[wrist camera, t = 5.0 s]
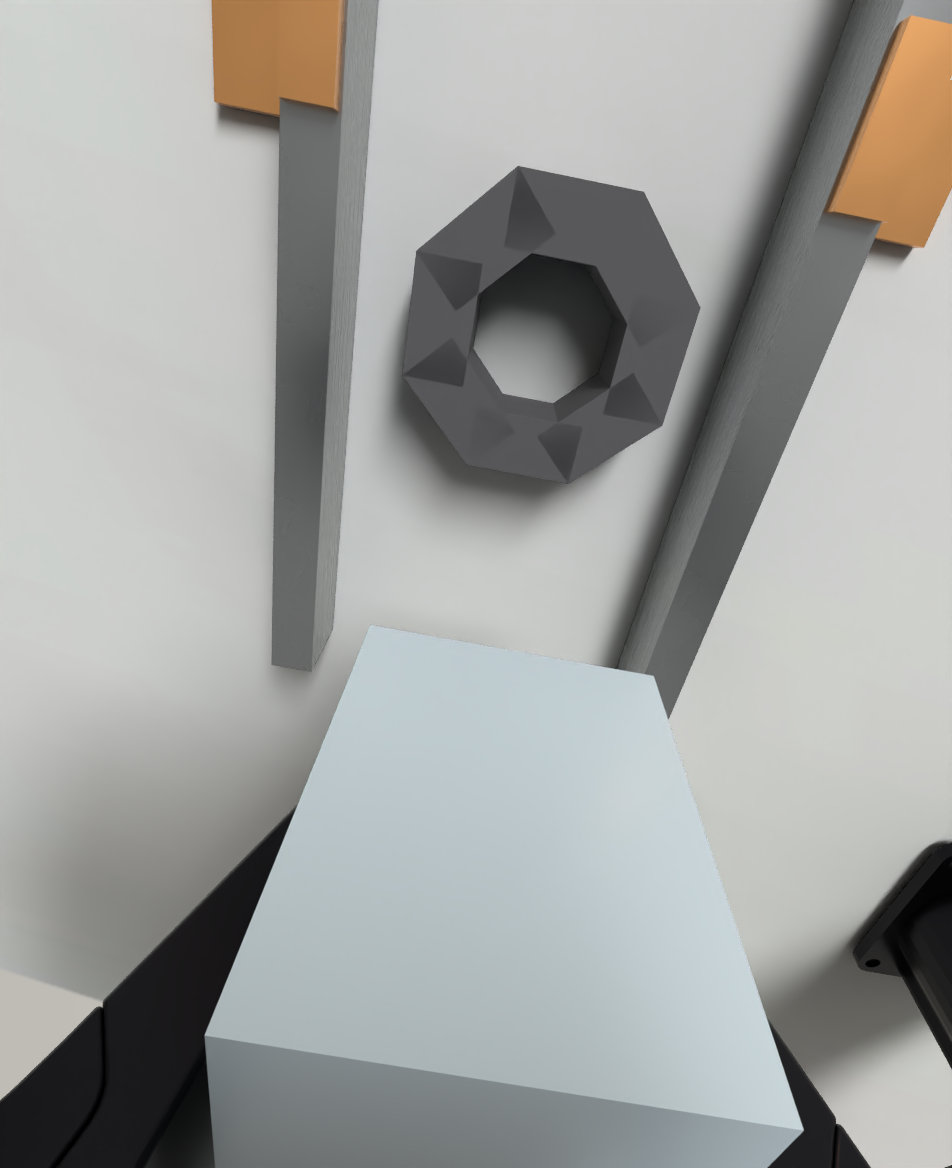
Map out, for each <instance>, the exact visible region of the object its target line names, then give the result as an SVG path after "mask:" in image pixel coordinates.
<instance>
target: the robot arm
mask: <svg viewBox="0 0 952 1168" xmlns="http://www.w3.org/2000/svg"><path fill="white" fill-rule="evenodd" d="M296 808H297V806H296V807H295V808H294V809H293V810H292V811H291V812H290V813H289V814H288V815H287V816H286V817H285V818H284V819H283V820H282V821H281V822H280V823H279V824H278V825H277V826H276V827H275V828H274V829H273V830H272V831H271V832H270V833H269V834H268V835H267V836H266V837H265V838H264V839H263V840H262V841H261V842H260V843H259V844H258V845H257V846H256V847H255V848H254V849H253V850H252V851H251V852H250V853H249V854H248V855H247V856H246V857H245V858H244V859H243V860H242V861H241V862H240V863H239V864H238V865H237V866H236V867H235V868H234V869H233V870H232V871H231V872H230V873H229V874H228V875H227V876H226V877H225V878H224V879H223V880H222V881H221V882H220V883H219V884H218V885H217V886H216V887H215V888H214V889H213V890H212V891H211V892H210V893H209V894H208V895H207V896H206V897H205V898H204V899H203V900H202V901H201V902H200V903H199V904H198V905H197V906H196V907H195V908H194V909H193V910H192V911H191V913H190V914H189V915H188V916H187V917H186V918H185V919H184V920H183V921H182V922H181V923H180V924H179V925H178V926H177V927H176V928H175V929H174V930H173V931H172V932H171V933H170V934H169V935H168V936H167V937H166V938H165V939H164V940H163V941H162V942H161V943H160V944H159V945H158V946H157V947H156V948H155V949H154V950H153V951H152V952H151V953H150V954H149V955H148V956H147V957H146V958H145V959H144V960H143V961H142V962H141V963H140V964H139V965H138V966H137V967H136V968H135V969H134V970H133V971H132V972H131V973H130V974H129V975H128V976H127V977H126V978H125V979H124V980H123V981H122V982H121V983H120V984H119V985H118V986H117V987H116V988H115V989H114V990H113V991H112V992H111V993H110V994H109V995H108V996H107V997H106V998H105V999H104V1001H103V1008H102V1007H96V1008H95V1009H94V1010H93V1011H92V1012H91V1013H90V1014H89V1015H88V1016H87V1017H86V1018H85V1019H84V1020H83V1021H82V1022H81V1023H80V1024H79V1025H78V1026H77V1027H76V1028H75V1029H74V1030H73V1031H72V1032H71V1033H70V1034H69V1035H68V1036H67V1037H66V1038H65V1039H64V1040H63V1041H62V1042H61V1043H60V1044H59V1045H58V1046H57V1047H56V1048H55V1049H54V1050H53V1051H52V1052H51V1053H50V1054H49V1055H48V1056H47V1057H46V1058H45V1059H44V1060H43V1061H42V1062H41V1063H40V1064H38V1066H36V1067H35V1068H34V1069H33V1070H32V1071H31V1072H30V1073H29V1074H28V1075H27V1076H26V1077H25V1078H24V1079H23V1080H22V1081H21V1082H20V1083H19V1084H18V1085H17V1086H16V1087H15V1088H14V1089H12V1090H11V1091H10V1092H9V1093H8V1094H7V1095H6V1096H5V1097H4V1098H2V1099H1V1100H0V1168H215V1159H214V1147H213V1134H212V1122H211V1109H210V1097H209V1085H208V1072H207V1060H206V1047H205V1033H206V1031H207V1028H208V1026H209V1023H210V1021H211V1018H212V1016H213V1013H214V1011H215V1008H216V1006H217V1003H218V1001H219V999H220V996H221V994H222V991H223V989H224V986H225V984H226V981H227V979H228V976H229V974H230V971H231V969H232V966H233V964H234V961H235V959H236V956H237V954H238V952H239V949H240V947H241V944H242V942H243V939H244V937H245V934H246V932H247V929H248V927H249V924H250V922H251V919H252V917H253V914H254V912H255V909H256V907H257V904H258V902H259V900H260V897H261V895H262V892H263V890H264V887H265V885H266V882H267V880H268V877H269V875H270V872H271V870H272V867H273V865H274V862H275V860H276V857H277V855H278V853H279V850H280V848H281V845H282V843H283V840H284V838H285V835H286V833H287V830H288V828H289V825H290V823H291V820H292V818H293V815H294V813H295V810H296ZM853 957H854V959H855V961H856V963H857V965H858V967H859V968H860V969H861V970H864V971H869V972H875V973H881V974H887V975H893V976H899V977H902V978H903V980H904V982H905V983H906V985H907V987H908V989H909V991H910V993H911V995H912V996H913V998H914V1000H915V1002H916V1004H917V1006H918V1008H919V1009H920V1011H921V1013H922V1015H923V1017H924V1019H925V1020H926V1022H927V1024H928V1026H929V1028H930V1030H931V1032H932V1033H933V1035H934V1037H935V1039H936V1041H937V1043H938V1045H939V1046H940V1048H941V1050H942V1052H943V1054H944V1056H945V1057H946V1059H947V1061H948V1063H949V1065H950V1067H951V1069H952V843H950V844H945V845H943V846H941V847H939V848H938V849H937V850H935V851H934V853H933V854H932V855H931V856H930V857H929V859H928V860H927V861H926V862H925V864H924V865H923V866H922V867H921V868H920V870H919V871H918V872H917V873H916V875H915V876H914V877H913V878H912V879H911V881H910V882H909V883H908V884H907V886H906V887H905V888H904V889H903V890H902V892H901V893H900V894H899V895H898V897H897V898H896V899H895V900H894V901H893V903H892V904H891V905H890V906H889V908H888V909H887V910H886V911H885V912H884V914H883V915H882V916H881V917H880V919H879V920H878V921H877V922H876V923H875V925H874V926H873V927H872V928H871V930H870V931H869V932H868V933H867V934H866V936H865V937H864V938H863V939H862V941H861V942H860V943H859V944H858V945H857V947H856V948H855V949H854V951H853ZM767 1020H768V1018H767ZM768 1024H769V1027H770V1030H771V1033H772V1036H773V1039H774V1042H775V1045H776V1048H777V1051H778V1054H779V1057H780V1060H781V1063H782V1066H783V1069H784V1072H785V1075H786V1078H787V1081H788V1084H789V1087H790V1090H791V1093H792V1096H793V1099H794V1102H795V1105H796V1108H797V1111H798V1114H799V1117H800V1120H801V1123H802V1126H803V1129H804V1131H803V1132H802V1133H801V1134H800V1135H799V1136H798V1137H797V1138H796V1139H795V1140H794V1141H793V1142H792V1143H791V1144H790V1145H789V1146H788V1147H787V1148H786V1149H785V1150H784V1151H783V1152H782V1153H781V1154H780V1155H779V1156H778V1157H777V1158H776V1159H775V1160H774V1161H773V1162H772V1163H771V1164H770V1165H769V1166H768V1167H767V1168H871V1167H870V1166H869V1165H868V1163H867V1162H866V1160H865V1159H864V1157H863V1156H862V1154H861V1153H860V1151H859V1150H858V1149H857V1147H856V1146H855V1144H854V1143H853V1141H852V1140H851V1138H850V1137H849V1136H848V1134H847V1133H846V1131H845V1130H844V1128H843V1127H842V1126H841V1125H839V1124H836V1118H835V1116H834V1114H833V1113H832V1111H831V1110H830V1108H829V1107H828V1105H827V1104H826V1103H825V1101H824V1100H823V1098H822V1097H821V1095H820V1094H819V1092H818V1091H817V1090H816V1088H815V1087H814V1085H813V1084H812V1082H811V1081H810V1079H809V1078H808V1076H807V1075H806V1074H805V1072H804V1071H803V1069H802V1068H801V1066H800V1065H799V1063H798V1062H797V1061H796V1059H795V1058H794V1056H793V1055H792V1053H791V1052H790V1050H789V1049H788V1047H787V1046H786V1045H785V1043H784V1042H783V1040H782V1039H781V1037H780V1036H779V1034H778V1033H777V1032H776V1030H775V1029H774V1027H773V1026H772V1024H771V1023H770V1021H769V1020H768ZM945 1168H952V1165H951V1166H948V1167H945Z"/></svg>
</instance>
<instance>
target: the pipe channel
mask: <svg viewBox="0 0 952 1168" xmlns="http://www.w3.org/2000/svg"><path fill="white" fill-rule="evenodd" d="M377 13H378V0H212V28H213V66H214V102H216V103H218V104H220V105H223V106H227V107H232V108H237V109H242V110H247V111H252V112H257V113H261V114H266V115H271V116H276V117H280V137H279V204H278V272H277V339H276V406H275V474H274V541H273V608H272V665H276V666H282V667H288V668H293V669H299V670H305V671H310V672H312V670H313V668H314V666H315V664H316V662H317V660H318V658H319V656H320V654H321V652H322V649H323V647H324V645H325V643H326V641H327V639H328V637H329V635H330V633H331V631H332V629H333V619H334V606H335V592H336V578H337V564H338V550H339V537H340V523H341V509H342V495H343V481H344V468H345V454H346V440H347V426H348V413H349V399H350V385H351V371H352V357H353V344H354V330H355V316H356V302H357V289H358V275H359V261H360V247H361V233H362V220H363V206H364V192H365V178H366V164H367V151H368V137H369V123H370V109H371V96H372V82H373V68H374V54H375V40H376V27H377ZM951 76H952V0H854V3H853V5H852V8H851V11H850V14H849V17H848V19H847V22H846V25H845V28H844V31H843V34H842V36H841V39H840V42H839V45H838V48H837V50H836V53H835V56H834V59H833V62H832V64H831V67H830V70H829V73H828V76H827V78H826V81H825V84H824V87H823V90H822V93H821V95H820V98H819V101H818V104H817V107H816V109H815V112H814V115H813V118H812V121H811V123H810V126H809V129H808V132H807V135H806V137H805V140H804V143H803V146H802V149H801V152H800V154H799V157H798V160H797V163H796V166H795V168H794V171H793V174H792V177H791V180H790V182H789V185H788V188H787V191H786V194H785V196H784V199H783V202H782V205H781V208H780V211H779V213H778V216H777V219H776V222H775V225H774V227H773V230H772V233H771V236H770V239H769V241H768V244H767V247H766V250H765V253H764V255H763V258H762V261H761V264H760V267H759V270H758V272H757V275H756V278H755V281H754V284H753V286H752V289H751V292H750V295H749V298H748V300H747V303H746V306H745V309H744V312H743V314H742V317H741V320H740V323H739V326H738V328H737V331H736V334H735V337H734V340H733V343H732V345H731V348H730V351H729V354H728V357H727V359H726V362H725V365H724V368H723V371H722V373H721V376H720V379H719V382H718V385H717V387H716V390H715V393H714V396H713V399H712V402H711V404H710V407H709V410H708V413H707V416H706V418H705V421H704V424H703V427H702V430H701V432H700V435H699V438H698V441H697V444H696V446H695V449H694V452H693V455H692V458H691V461H690V463H689V466H688V469H687V472H686V475H685V477H684V480H683V483H682V486H681V489H680V491H679V494H678V497H677V500H676V503H675V505H674V508H673V511H672V514H671V517H670V520H669V522H668V525H667V528H666V531H665V534H664V536H663V539H662V542H661V545H660V548H659V550H658V553H657V556H656V559H655V562H654V564H653V567H652V570H651V573H650V576H649V578H648V581H647V584H646V587H645V590H644V593H643V595H642V598H641V601H640V604H639V607H638V609H637V612H636V615H635V618H634V621H633V623H632V626H631V629H630V632H629V635H628V637H627V640H626V643H625V646H624V649H623V652H622V654H621V657H620V660H619V663H618V666H617V668H616V669H618V670H624V671H629V672H635V673H640V674H646V675H651V676H654V678H655V681H656V685H657V688H658V691H659V694H660V697H661V700H662V703H663V706H664V709H665V712H666V715H667V718H668V719H669V717H670V715H671V712H672V710H673V708H674V705H675V703H676V701H677V698H678V696H679V694H680V691H681V689H682V687H683V684H684V682H685V680H686V677H687V675H688V673H689V670H690V668H691V666H692V663H693V661H694V659H695V656H696V654H697V652H698V649H699V647H700V645H701V642H702V640H703V638H704V635H705V633H706V631H707V628H708V626H709V624H710V621H711V619H712V617H713V614H714V612H715V610H716V607H717V605H718V603H719V600H720V598H721V596H722V594H723V591H724V589H725V587H726V584H727V582H728V580H729V577H730V575H731V573H732V570H733V568H734V566H735V563H736V561H737V559H738V556H739V554H740V552H741V549H742V547H743V545H744V542H745V540H746V538H747V535H748V533H749V531H750V528H751V526H752V524H753V521H754V519H755V517H756V514H757V512H758V510H759V507H760V505H761V503H762V500H763V498H764V496H765V493H766V491H767V489H768V486H769V484H770V482H771V479H772V477H773V475H774V472H775V470H776V468H777V465H778V463H779V461H780V458H781V456H782V454H783V451H784V449H785V447H786V444H787V442H788V440H789V437H790V435H791V433H792V430H793V428H794V426H795V423H796V421H797V419H798V416H799V414H800V412H801V409H802V407H803V405H804V402H805V400H806V398H807V395H808V393H809V391H810V388H811V386H812V384H813V381H814V379H815V377H816V374H817V372H818V370H819V367H820V365H821V363H822V360H823V358H824V356H825V353H826V351H827V349H828V346H829V344H830V342H831V339H832V337H833V335H834V332H835V330H836V328H837V325H838V323H839V321H840V318H841V316H842V314H843V311H844V309H845V307H846V304H847V302H848V300H849V298H850V295H851V293H852V291H853V288H854V286H855V284H856V281H857V279H858V277H859V274H860V272H861V270H862V267H863V265H864V263H865V260H866V258H867V256H868V253H869V251H870V249H871V246H872V244H873V242H874V240H879V241H884V242H889V243H894V244H899V245H904V246H909V247H913V248H924V246H925V244H926V242H927V240H928V238H929V236H930V234H931V231H932V229H933V227H934V225H935V223H936V221H937V218H938V216H939V214H940V212H941V210H942V208H943V206H944V203H945V201H946V199H947V197H948V195H949V193H950V191H951V188H952V80H950V78H951Z"/></svg>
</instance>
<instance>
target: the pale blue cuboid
mask: <svg viewBox="0 0 952 1168" xmlns="http://www.w3.org/2000/svg"><path fill="white" fill-rule="evenodd" d="M205 1047H206V1060H207V1072H208V1085H209V1097H210V1109H211V1122H212V1134H213V1147H214V1159H215V1168H767V1167H768V1166H769V1165H770V1164H771V1163H772V1162H773V1161H774V1160H775V1159H776V1158H777V1157H778V1156H779V1155H780V1154H781V1153H782V1152H783V1151H784V1150H785V1149H786V1148H787V1147H788V1146H789V1145H790V1144H791V1143H792V1142H793V1141H794V1140H795V1139H796V1138H797V1137H798V1136H799V1135H800V1134H801V1133H802V1132H803V1131H804V1129H803V1126H802V1123H801V1120H800V1117H799V1114H798V1111H797V1108H796V1105H795V1102H794V1099H793V1096H792V1093H791V1090H790V1087H789V1084H788V1081H787V1078H786V1075H785V1072H784V1069H783V1066H782V1063H781V1060H780V1057H779V1054H778V1051H777V1048H776V1045H775V1042H774V1039H773V1036H772V1033H771V1030H770V1027H769V1024H768V1020H767V1017H766V1014H765V1011H764V1008H763V1005H762V1002H761V999H760V996H759V993H758V990H757V987H756V984H755V981H754V978H753V975H752V972H751V969H750V966H749V963H748V960H747V957H746V954H745V951H744V948H743V945H742V942H741V939H740V936H739V933H738V930H737V927H736V924H735V921H734V918H733V915H732V912H731V908H730V905H729V902H728V899H727V896H726V893H725V890H724V887H723V884H722V881H721V878H720V875H719V872H718V869H717V866H716V863H715V860H714V857H713V854H712V851H711V848H710V845H709V842H708V839H707V836H706V833H705V830H704V827H703V824H702V821H701V818H700V815H699V812H698V809H697V806H696V803H695V800H694V797H693V793H692V790H691V787H690V784H689V781H688V778H687V775H686V772H685V769H684V766H683V763H682V760H681V757H680V754H679V751H678V748H677V745H676V742H675V739H674V736H673V733H672V730H671V727H670V724H669V721H668V718H667V715H666V712H665V709H664V706H663V703H662V700H661V697H660V694H659V691H658V688H657V685H656V681H655V678H654V676H651V675H646V674H640V673H635V672H629V671H624V670H618V669H612V668H607V667H601V666H596V665H590V664H585V663H579V662H574V661H568V660H563V659H557V658H551V657H546V656H540V655H535V654H529V653H524V652H518V651H513V650H507V649H501V648H496V647H490V646H485V645H479V644H474V643H468V642H463V641H457V640H452V639H446V638H440V637H435V636H429V635H424V634H418V633H413V632H407V631H402V630H396V629H390V628H385V627H379V626H374V625H370V627H369V630H368V632H367V635H366V637H365V640H364V642H363V645H362V647H361V650H360V652H359V655H358V657H357V659H356V662H355V664H354V667H353V669H352V672H351V674H350V677H349V679H348V682H347V684H346V687H345V689H344V692H343V694H342V697H341V699H340V702H339V704H338V706H337V709H336V711H335V714H334V716H333V719H332V721H331V724H330V726H329V729H328V731H327V734H326V736H325V739H324V741H323V744H322V746H321V749H320V751H319V754H318V756H317V758H316V761H315V763H314V766H313V768H312V771H311V773H310V776H309V778H308V781H307V783H306V786H305V788H304V791H303V793H302V796H301V798H300V801H299V803H298V805H297V808H296V810H295V813H294V815H293V818H292V820H291V823H290V825H289V828H288V830H287V833H286V835H285V838H284V840H283V843H282V845H281V848H280V850H279V853H278V855H277V857H276V860H275V862H274V865H273V867H272V870H271V872H270V875H269V877H268V880H267V882H266V885H265V887H264V890H263V892H262V895H261V897H260V900H259V902H258V904H257V907H256V909H255V912H254V914H253V917H252V919H251V922H250V924H249V927H248V929H247V932H246V934H245V937H244V939H243V942H242V944H241V947H240V949H239V952H238V954H237V956H236V959H235V961H234V964H233V966H232V969H231V971H230V974H229V976H228V979H227V981H226V984H225V986H224V989H223V991H222V994H221V996H220V999H219V1001H218V1003H217V1006H216V1008H215V1011H214V1013H213V1016H212V1018H211V1021H210V1023H209V1026H208V1028H207V1031H206V1033H205Z"/></svg>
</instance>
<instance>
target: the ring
mask: <svg viewBox="0 0 952 1168" xmlns="http://www.w3.org/2000/svg"><path fill="white" fill-rule="evenodd" d="M530 254H532V255H537V256H542V257H547V258H552V259H557V260H562V261H567V262H572V263H577V264H582V265H586V267H587V269H588V271H589V273H590V274H591V276H592V278H593V280H594V282H595V284H596V285H597V287H598V289H599V291H600V293H601V295H602V296H603V298H604V300H605V302H606V304H607V305H608V307H609V309H610V311H611V313H612V315H613V320H612V324H611V327H610V331H609V335H608V339H607V343H606V347H605V350H604V354H603V358H602V362H601V366H600V369H599V373H598V374H596V375H595V376H593V377H592V378H590V379H589V380H588V381H586V382H585V383H583V384H582V385H580V386H579V387H577V388H576V389H574V390H573V391H571V392H570V393H568V394H567V395H565V396H564V397H562V398H561V399H559V400H558V401H556V402H555V403H547V402H542V401H537V400H532V399H527V398H522V397H516V396H511V395H506V394H502V392H501V391H500V389H499V387H498V386H497V384H496V383H495V381H494V380H493V378H492V377H491V375H490V374H489V372H488V371H487V369H486V368H485V366H484V365H483V363H482V362H481V360H480V358H479V357H478V355H477V354H476V352H475V351H474V349H473V346H474V339H475V333H476V327H477V321H478V315H479V309H480V302H481V296H482V291H483V290H484V289H486V288H487V287H488V286H490V285H491V284H492V283H493V282H495V281H496V280H497V279H499V278H500V277H501V276H502V275H504V274H505V273H506V272H508V271H509V270H510V269H511V268H513V267H514V266H515V265H517V264H518V263H519V262H521V261H522V260H523V259H524V258H526V257H527V256H528V255H530ZM699 310H700V306H699V304H698V302H697V300H696V298H695V296H694V294H693V292H692V290H691V287H690V285H689V283H688V281H687V279H686V277H685V275H684V273H683V271H682V269H681V267H680V265H679V263H678V261H677V259H676V257H675V255H674V253H673V251H672V249H671V246H670V244H669V242H668V240H667V238H666V236H665V234H664V232H663V230H662V228H661V226H660V224H659V222H658V220H657V218H656V216H655V214H654V212H653V210H652V207H651V205H650V203H649V201H648V199H647V197H646V195H645V193H644V192H642V191H637V190H632V189H627V188H622V187H618V186H613V185H608V184H603V183H598V182H593V181H588V180H583V179H579V178H574V177H569V176H564V175H559V174H554V173H549V172H545V171H540V170H535V169H530V168H525V167H520V166H517V167H516V168H515V169H514V170H513V171H511V172H510V173H509V174H508V175H507V176H506V177H504V178H503V179H502V180H501V181H500V182H498V183H497V184H496V185H495V186H494V187H492V188H491V189H490V190H489V191H488V192H486V193H485V194H484V195H483V196H482V197H480V198H479V199H478V200H477V201H476V202H474V203H473V204H472V205H471V206H470V207H468V208H467V209H466V210H465V211H464V212H462V213H461V214H460V215H459V216H458V217H456V218H455V219H454V220H453V221H452V222H450V223H449V224H448V225H447V226H446V227H444V228H443V229H442V230H441V231H440V232H438V233H437V234H436V235H435V236H434V237H432V238H431V239H430V240H429V241H428V242H426V243H425V244H424V245H423V246H422V247H420V248H419V249H418V250H417V251H416V258H415V267H414V276H413V285H412V294H411V303H410V312H409V321H408V330H407V339H406V348H405V357H404V366H403V375H402V376H403V377H404V378H405V380H406V381H407V382H408V384H409V385H410V387H411V388H412V389H413V391H414V392H415V394H416V395H417V396H418V398H419V399H420V401H421V402H422V403H423V405H424V406H425V408H426V409H427V410H428V412H429V413H430V415H431V416H432V417H433V419H434V420H435V422H436V423H437V424H438V426H439V427H440V429H441V430H442V431H443V433H444V434H445V436H446V437H447V438H448V440H449V441H450V443H451V444H452V445H453V447H454V448H455V449H456V451H457V452H458V454H459V455H460V456H461V458H462V459H463V461H464V462H465V463H466V465H470V466H476V467H481V468H486V469H492V470H497V471H502V472H508V473H513V474H518V475H523V476H529V477H534V478H539V479H545V480H550V481H555V482H561V483H566V484H568V483H570V482H572V481H573V480H575V479H577V478H578V477H580V476H581V475H583V474H585V473H586V472H588V471H589V470H591V469H593V468H594V467H596V466H598V465H599V464H601V463H602V462H604V461H606V460H607V459H609V458H610V457H612V456H614V455H615V454H617V453H619V452H620V451H622V450H623V449H625V448H627V447H628V446H630V445H631V444H633V443H635V442H636V441H638V440H640V439H641V438H643V437H644V436H646V435H648V434H649V433H651V432H652V431H654V430H656V429H657V428H659V427H661V426H662V425H663V422H664V418H665V415H666V412H667V409H668V406H669V403H670V400H671V397H672V394H673V391H674V388H675V384H676V381H677V378H678V375H679V372H680V369H681V366H682V363H683V360H684V357H685V354H686V350H687V347H688V344H689V341H690V338H691V335H692V332H693V329H694V326H695V323H696V320H697V316H698V313H699Z"/></svg>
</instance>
